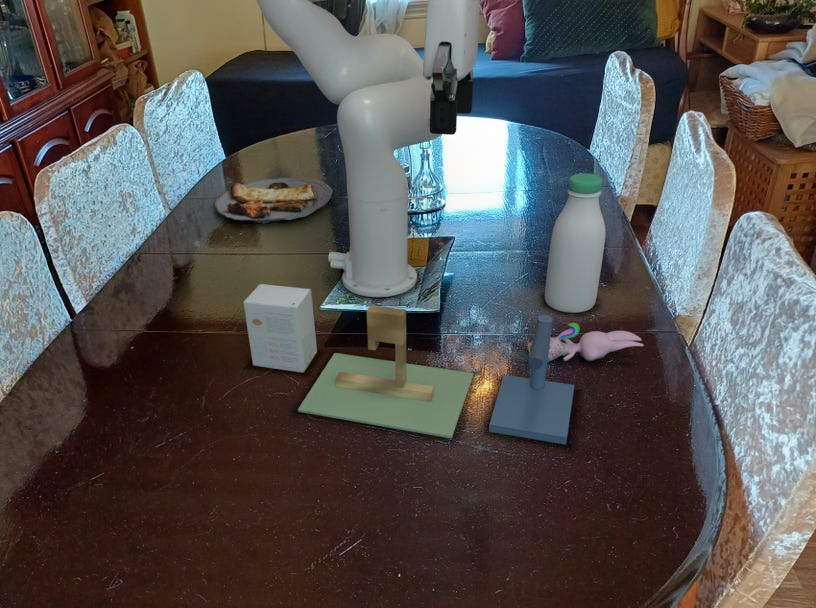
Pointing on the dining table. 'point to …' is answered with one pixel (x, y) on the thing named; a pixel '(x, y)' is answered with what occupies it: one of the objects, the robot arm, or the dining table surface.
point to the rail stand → (534, 397)
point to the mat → (390, 396)
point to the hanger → (392, 329)
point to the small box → (281, 327)
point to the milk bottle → (577, 248)
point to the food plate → (273, 199)
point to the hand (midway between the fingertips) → (451, 122)
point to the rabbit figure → (589, 343)
